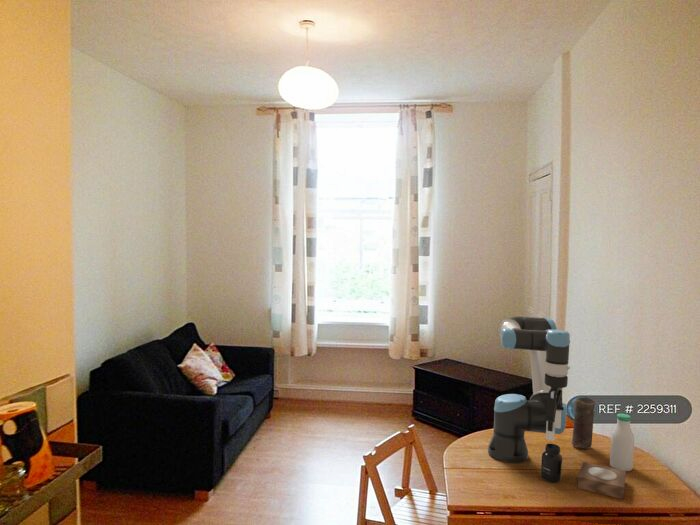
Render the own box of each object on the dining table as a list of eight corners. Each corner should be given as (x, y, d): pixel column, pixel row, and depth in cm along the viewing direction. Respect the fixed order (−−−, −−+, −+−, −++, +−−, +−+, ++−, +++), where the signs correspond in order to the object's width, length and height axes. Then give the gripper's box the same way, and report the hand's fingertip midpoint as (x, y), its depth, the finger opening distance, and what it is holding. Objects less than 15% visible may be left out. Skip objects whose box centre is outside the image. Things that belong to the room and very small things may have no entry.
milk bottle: (635, 472, 193) (638, 419, 192) (612, 470, 195) (616, 417, 193) (628, 464, 201) (631, 412, 199) (607, 461, 202) (610, 410, 201)
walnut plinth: (577, 487, 180) (578, 475, 180) (582, 472, 192) (582, 460, 192) (623, 499, 173) (623, 486, 173) (625, 482, 185) (625, 470, 185)
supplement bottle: (540, 481, 185) (542, 447, 184) (540, 472, 191) (542, 440, 190) (561, 484, 182) (563, 451, 182) (560, 476, 189) (562, 443, 188)
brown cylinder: (593, 446, 217) (596, 399, 215) (590, 452, 210) (593, 403, 209) (573, 442, 221) (576, 395, 219) (570, 447, 214) (573, 399, 213)
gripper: (562, 384, 172) (559, 447, 173) (572, 368, 193) (569, 425, 194) (538, 380, 175) (535, 442, 177) (551, 365, 197) (548, 420, 198)
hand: (553, 433), depth 185 cm, fingers open, 13 cm apart
